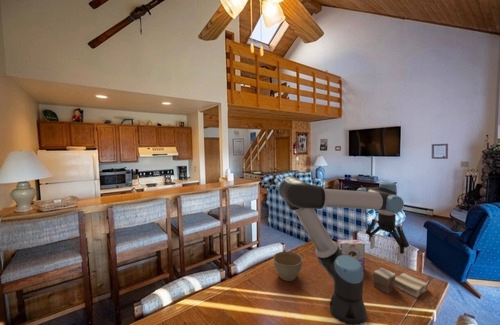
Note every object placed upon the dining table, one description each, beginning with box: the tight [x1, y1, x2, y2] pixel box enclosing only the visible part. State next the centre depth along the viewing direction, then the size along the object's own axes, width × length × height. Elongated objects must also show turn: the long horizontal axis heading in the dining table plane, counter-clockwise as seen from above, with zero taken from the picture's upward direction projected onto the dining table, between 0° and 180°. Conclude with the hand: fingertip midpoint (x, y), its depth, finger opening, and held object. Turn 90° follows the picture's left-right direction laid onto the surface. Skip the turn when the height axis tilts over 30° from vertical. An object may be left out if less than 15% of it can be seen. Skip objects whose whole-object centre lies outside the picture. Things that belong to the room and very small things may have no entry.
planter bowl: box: [273, 251, 303, 282], centre depth 127 cm, size 16×16×11 cm
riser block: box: [395, 272, 429, 298], centre depth 116 cm, size 11×11×4 cm
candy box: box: [337, 239, 366, 271], centre depth 135 cm, size 14×6×16 cm, turn 84°
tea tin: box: [373, 267, 397, 294], centre depth 116 cm, size 7×7×8 cm
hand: (385, 253), depth 115 cm, fingers open, 13 cm apart
